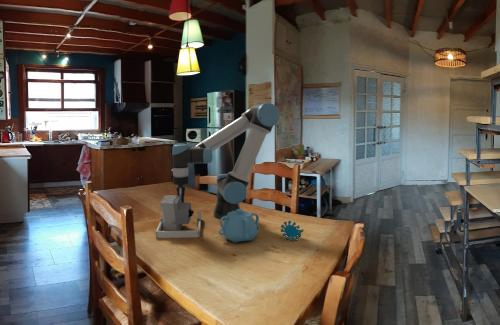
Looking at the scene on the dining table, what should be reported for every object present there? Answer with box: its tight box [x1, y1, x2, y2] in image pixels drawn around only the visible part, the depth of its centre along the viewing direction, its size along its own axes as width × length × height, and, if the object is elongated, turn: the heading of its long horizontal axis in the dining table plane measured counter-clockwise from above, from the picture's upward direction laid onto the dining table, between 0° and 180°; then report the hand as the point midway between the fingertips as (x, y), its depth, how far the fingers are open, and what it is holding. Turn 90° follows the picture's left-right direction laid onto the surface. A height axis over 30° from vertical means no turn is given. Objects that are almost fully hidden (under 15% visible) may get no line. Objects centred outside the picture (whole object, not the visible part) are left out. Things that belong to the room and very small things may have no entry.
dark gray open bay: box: [159, 211, 202, 228], centre depth 204 cm, size 20×13×4 cm, turn 96°
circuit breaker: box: [159, 194, 195, 231], centre depth 192 cm, size 8×14×15 cm, turn 83°
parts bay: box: [155, 220, 202, 239], centre depth 190 cm, size 20×17×3 cm
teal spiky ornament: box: [280, 220, 305, 241], centre depth 183 cm, size 11×6×10 cm
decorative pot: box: [218, 208, 260, 244], centre depth 180 cm, size 16×16×14 cm
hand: (181, 222), depth 201 cm, fingers closed
